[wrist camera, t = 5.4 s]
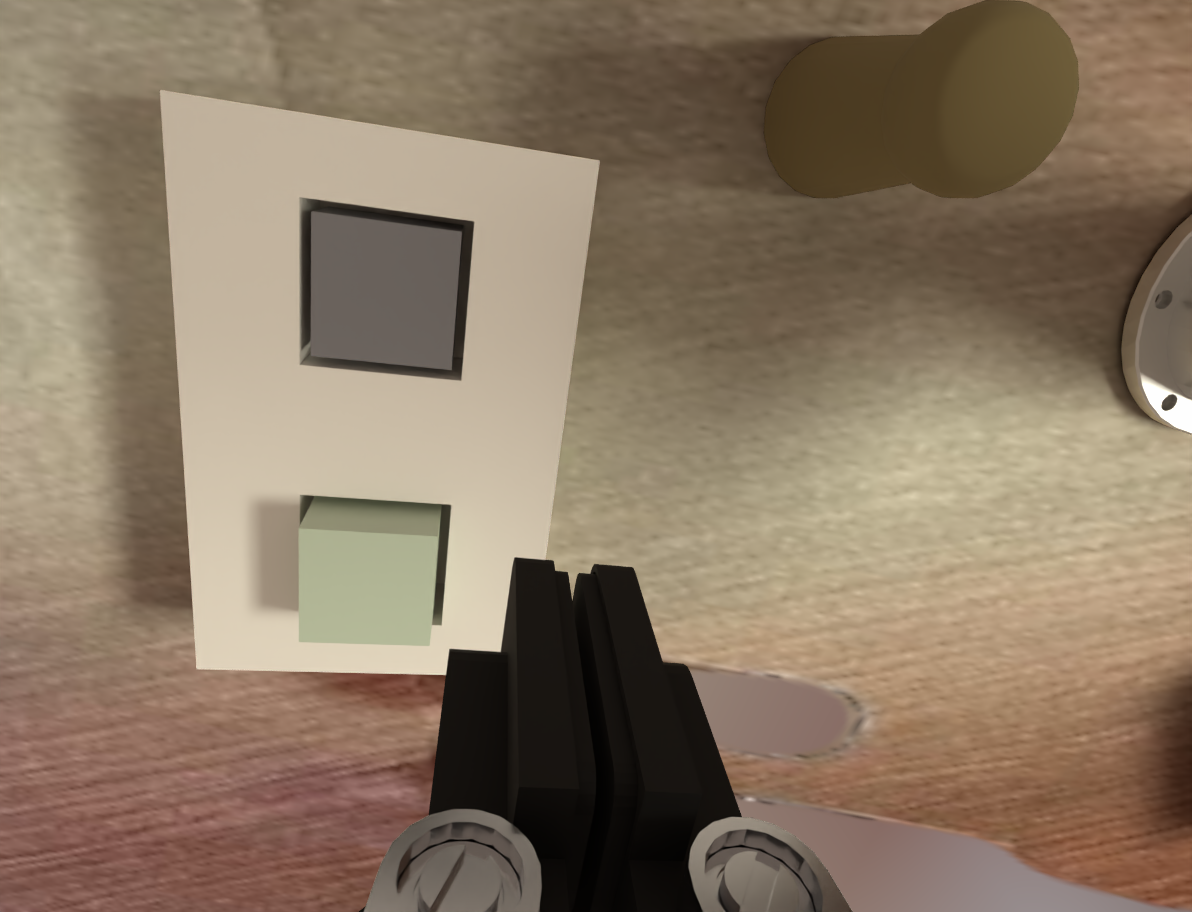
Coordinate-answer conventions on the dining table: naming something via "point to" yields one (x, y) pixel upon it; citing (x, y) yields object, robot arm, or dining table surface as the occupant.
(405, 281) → the charcoal key
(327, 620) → the sage key
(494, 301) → the key panel
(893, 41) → the brown pawn
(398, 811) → the dining table surface
